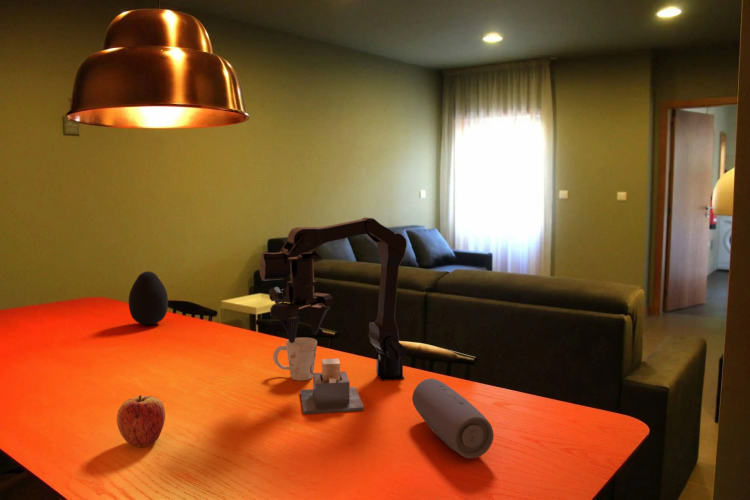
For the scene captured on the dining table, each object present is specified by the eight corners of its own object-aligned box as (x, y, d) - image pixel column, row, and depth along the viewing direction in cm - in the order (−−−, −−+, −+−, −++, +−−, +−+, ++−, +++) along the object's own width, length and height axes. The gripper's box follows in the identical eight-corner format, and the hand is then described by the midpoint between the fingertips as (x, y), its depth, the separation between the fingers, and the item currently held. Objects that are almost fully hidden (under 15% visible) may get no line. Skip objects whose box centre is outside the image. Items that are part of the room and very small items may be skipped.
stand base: (355, 389, 150) (355, 363, 150) (363, 410, 137) (364, 381, 136) (300, 392, 148) (300, 365, 147) (303, 414, 134) (303, 384, 134)
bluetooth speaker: (496, 461, 112) (497, 411, 111) (451, 468, 110) (452, 416, 108) (448, 416, 134) (449, 374, 133) (409, 421, 131) (410, 377, 130)
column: (338, 393, 145) (338, 358, 144) (340, 399, 140) (340, 363, 140) (321, 394, 144) (321, 359, 143) (322, 400, 140) (322, 364, 139)
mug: (311, 383, 155) (311, 346, 154) (267, 379, 158) (266, 343, 157) (321, 373, 163) (320, 338, 162) (278, 370, 166) (277, 335, 165)
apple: (118, 456, 113) (115, 406, 112) (117, 438, 121) (115, 391, 120) (167, 448, 117) (166, 400, 115) (164, 431, 125) (162, 385, 124)
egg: (159, 318, 228) (158, 267, 226) (174, 325, 218) (173, 271, 216) (123, 324, 219) (121, 271, 216) (137, 331, 209) (135, 275, 206)
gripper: (300, 270, 159) (301, 326, 161) (252, 280, 144) (254, 342, 145) (333, 273, 154) (334, 331, 156) (288, 284, 138) (289, 349, 140)
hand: (303, 338), depth 149 cm, fingers open, 9 cm apart
